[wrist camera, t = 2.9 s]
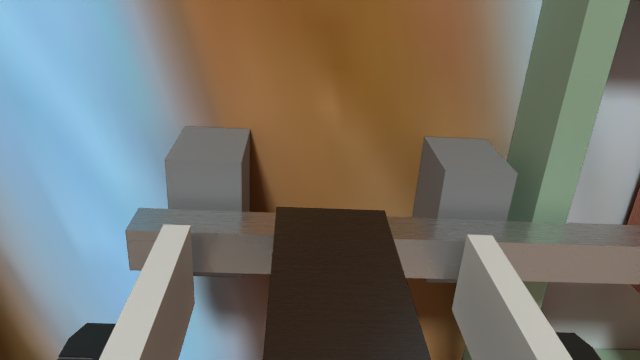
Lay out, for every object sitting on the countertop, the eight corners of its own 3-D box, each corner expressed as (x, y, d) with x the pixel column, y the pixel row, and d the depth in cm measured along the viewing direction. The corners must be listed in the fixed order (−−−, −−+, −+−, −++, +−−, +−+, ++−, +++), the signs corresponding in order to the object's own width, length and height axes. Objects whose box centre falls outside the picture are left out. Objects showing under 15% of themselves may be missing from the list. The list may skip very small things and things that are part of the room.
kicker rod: (168, 252, 21) (16, 616, 10) (158, 108, 19) (-64, 374, 7) (658, 266, 22) (1031, 608, 11) (710, 133, 20) (1264, 397, 8)
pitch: (197, 361, 24) (183, 418, 21) (174, -85, 17) (147, -90, 14) (834, 373, 26) (901, 427, 23) (1081, -26, 18) (1228, -19, 15)
